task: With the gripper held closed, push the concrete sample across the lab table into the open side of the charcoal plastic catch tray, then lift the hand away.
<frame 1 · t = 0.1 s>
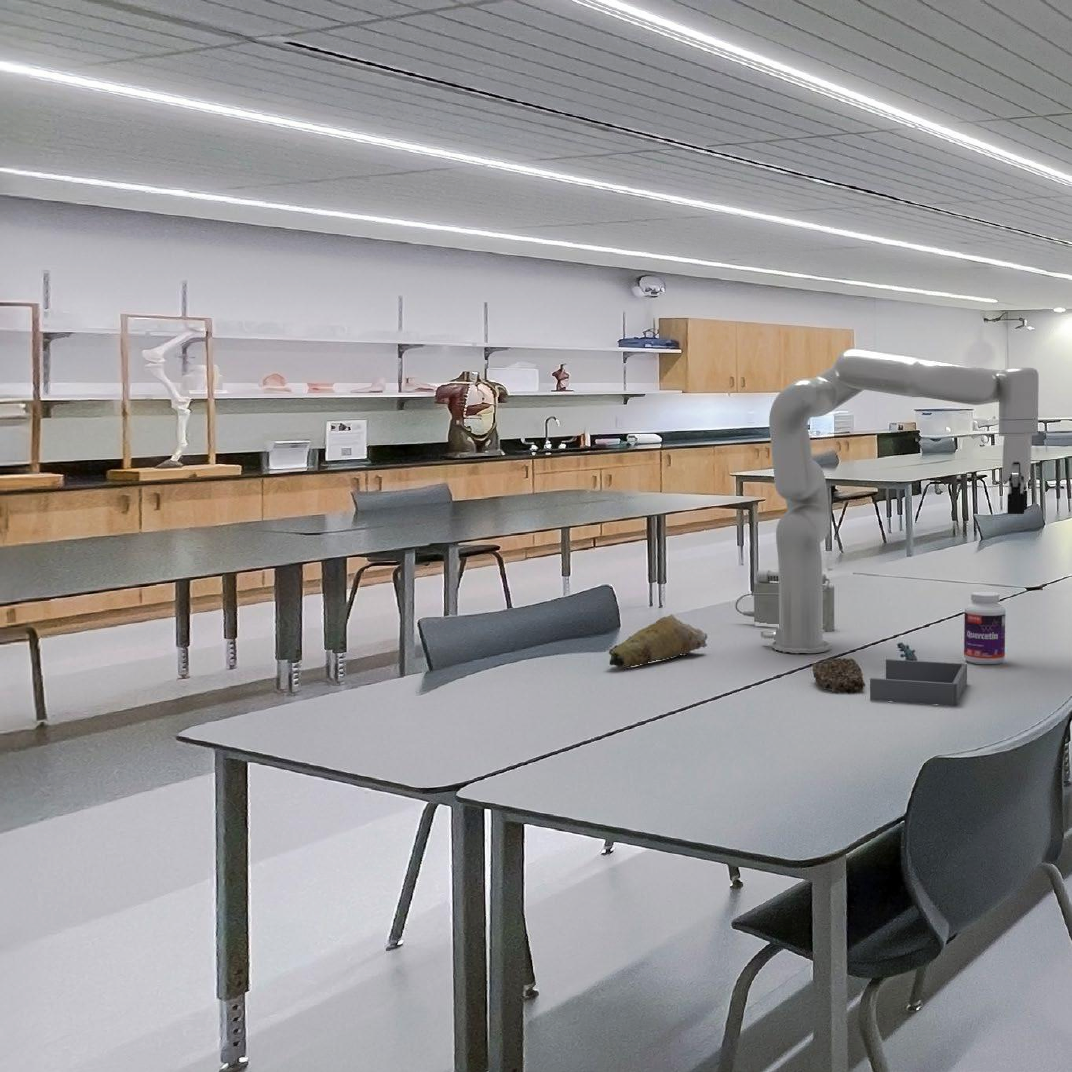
hand: (1017, 511, 258), 31 cm above the table, tool pointing down, fingers open, 9 cm apart
pill bottle: (984, 662, 261), on the table
catch tray: (918, 691, 236), on the table
geiger counter: (783, 628, 307), on the table
concrete sample: (838, 688, 242), on the table
mineral: (653, 662, 271), on the table
sculpture: (907, 671, 257), on the table
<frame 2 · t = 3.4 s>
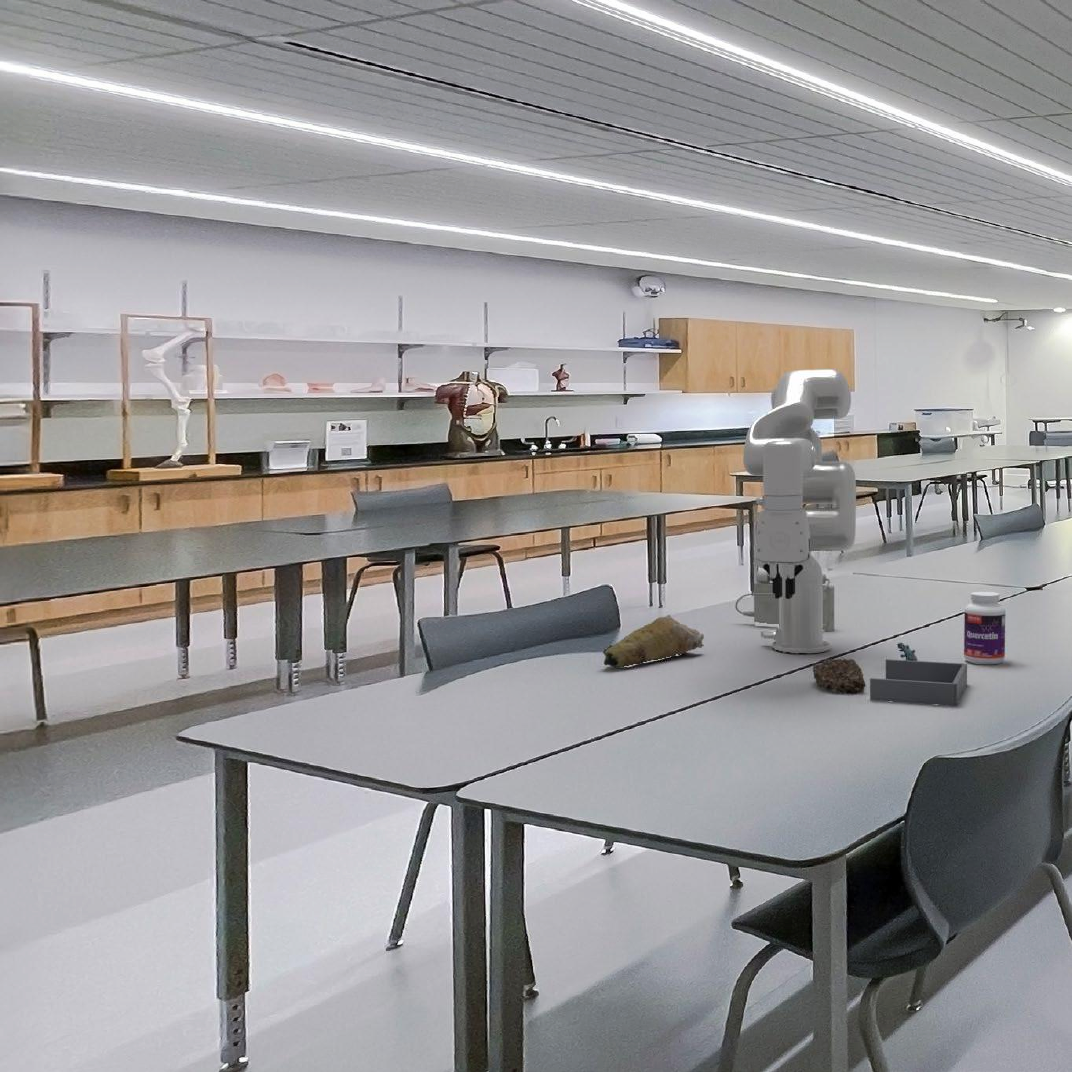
hand: (783, 597, 245), 17 cm above the table, tool pointing down, fingers closed
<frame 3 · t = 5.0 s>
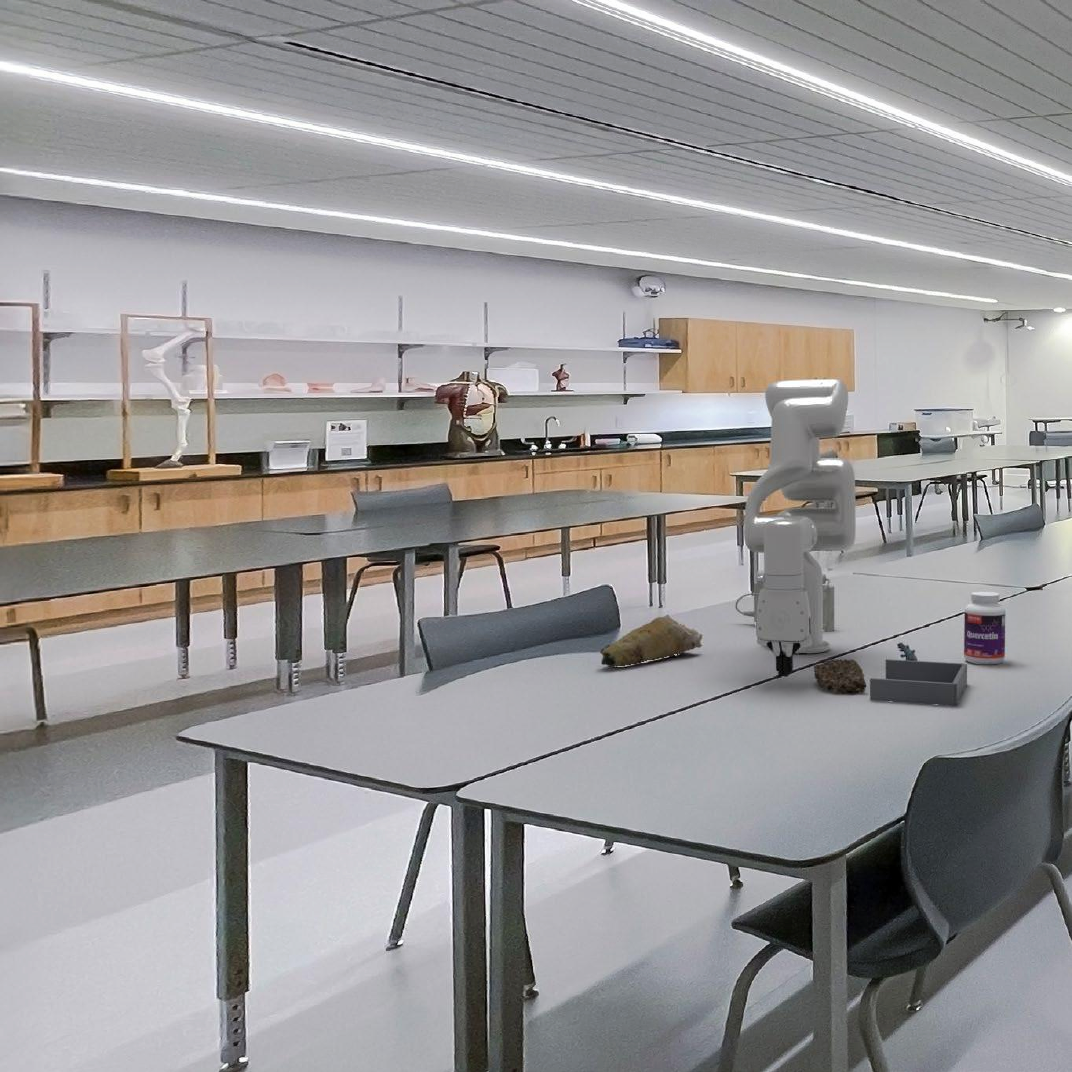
hand: (784, 675, 246), 2 cm above the table, tool pointing down, fingers closed
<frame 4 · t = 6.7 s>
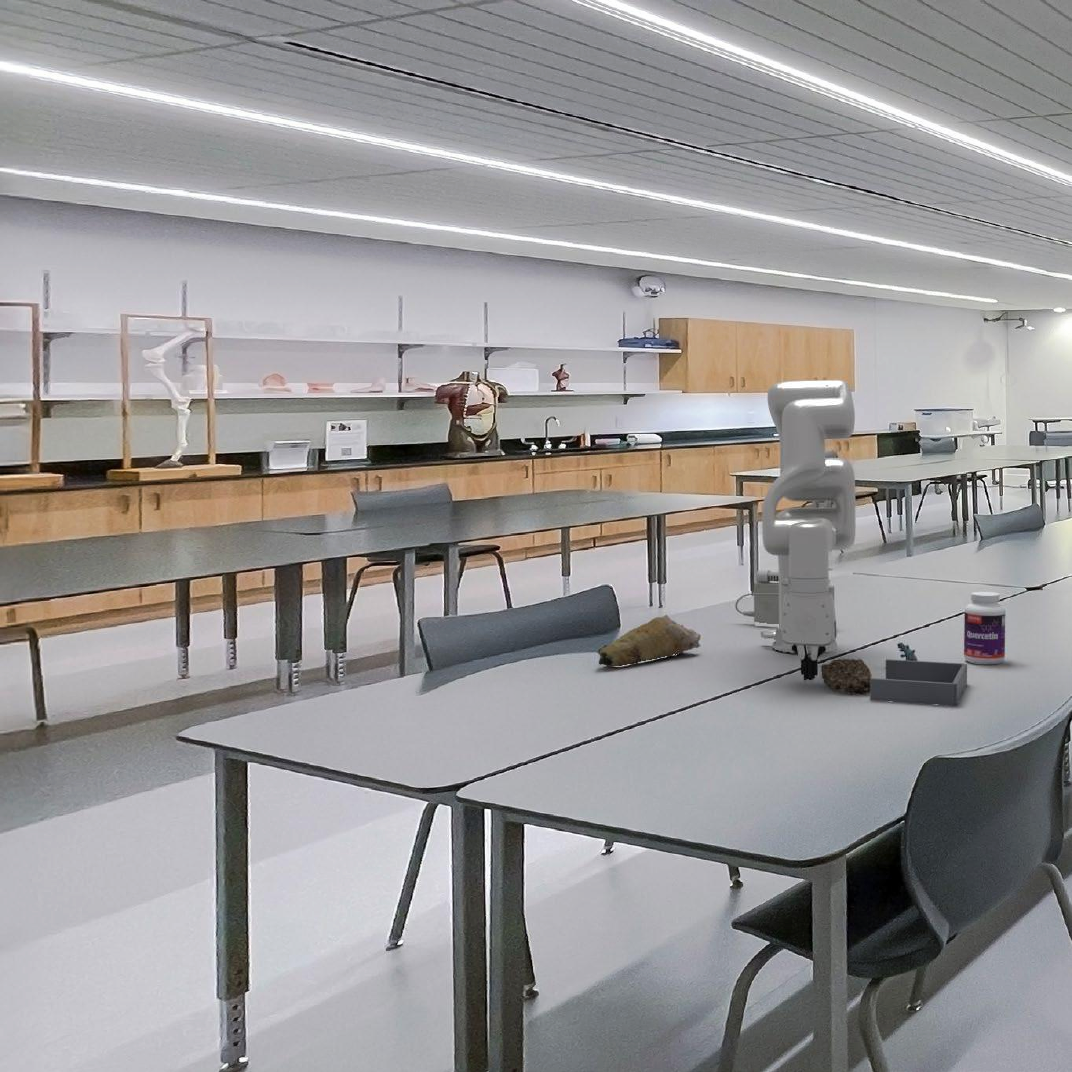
hand: (809, 678, 244), 1 cm above the table, tool pointing down, fingers closed
concrete sample: (847, 689, 240), on the table, touching gripper
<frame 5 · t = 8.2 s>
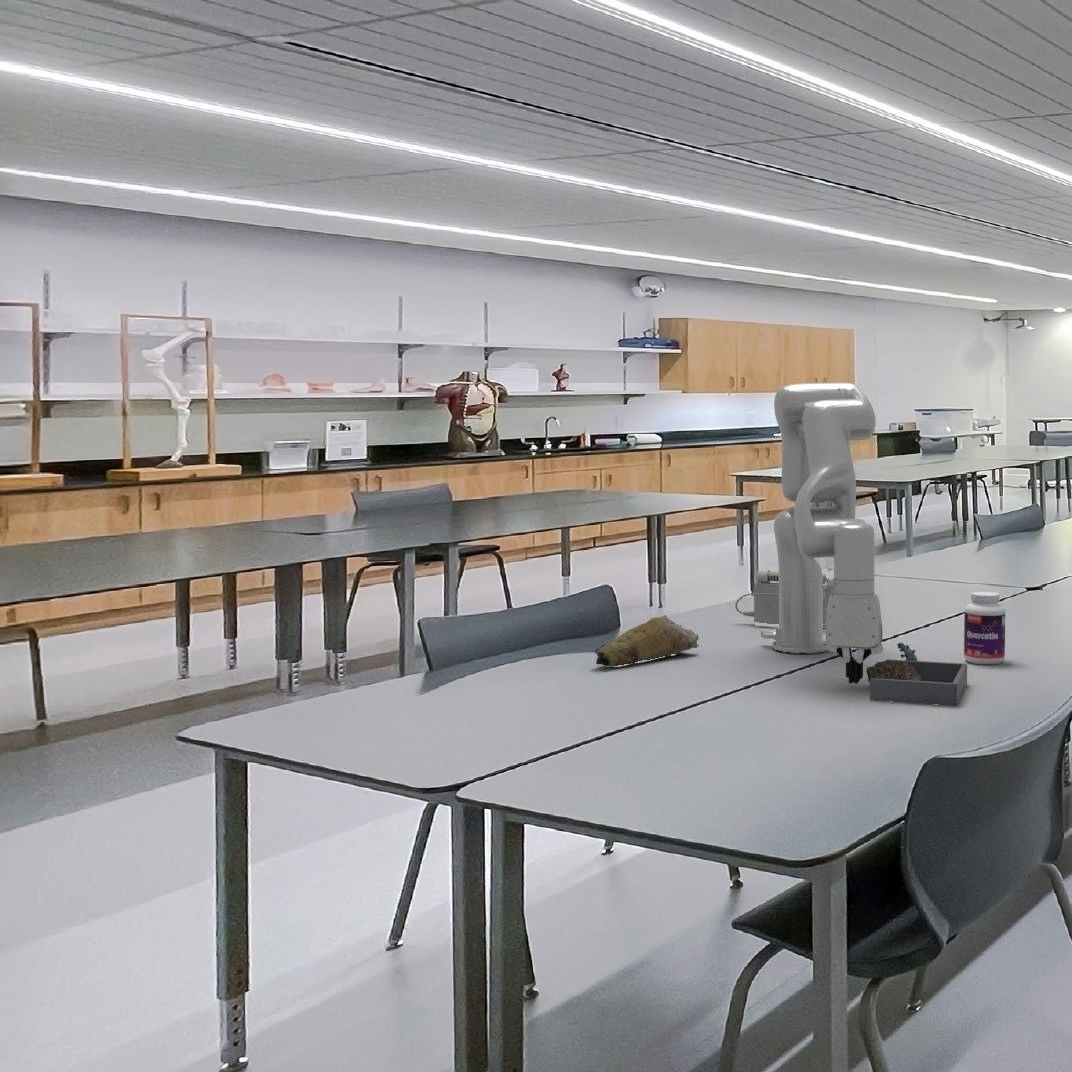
hand: (854, 681, 241), 1 cm above the table, tool pointing down, fingers closed
concrete sample: (895, 692, 237), on the table, touching gripper
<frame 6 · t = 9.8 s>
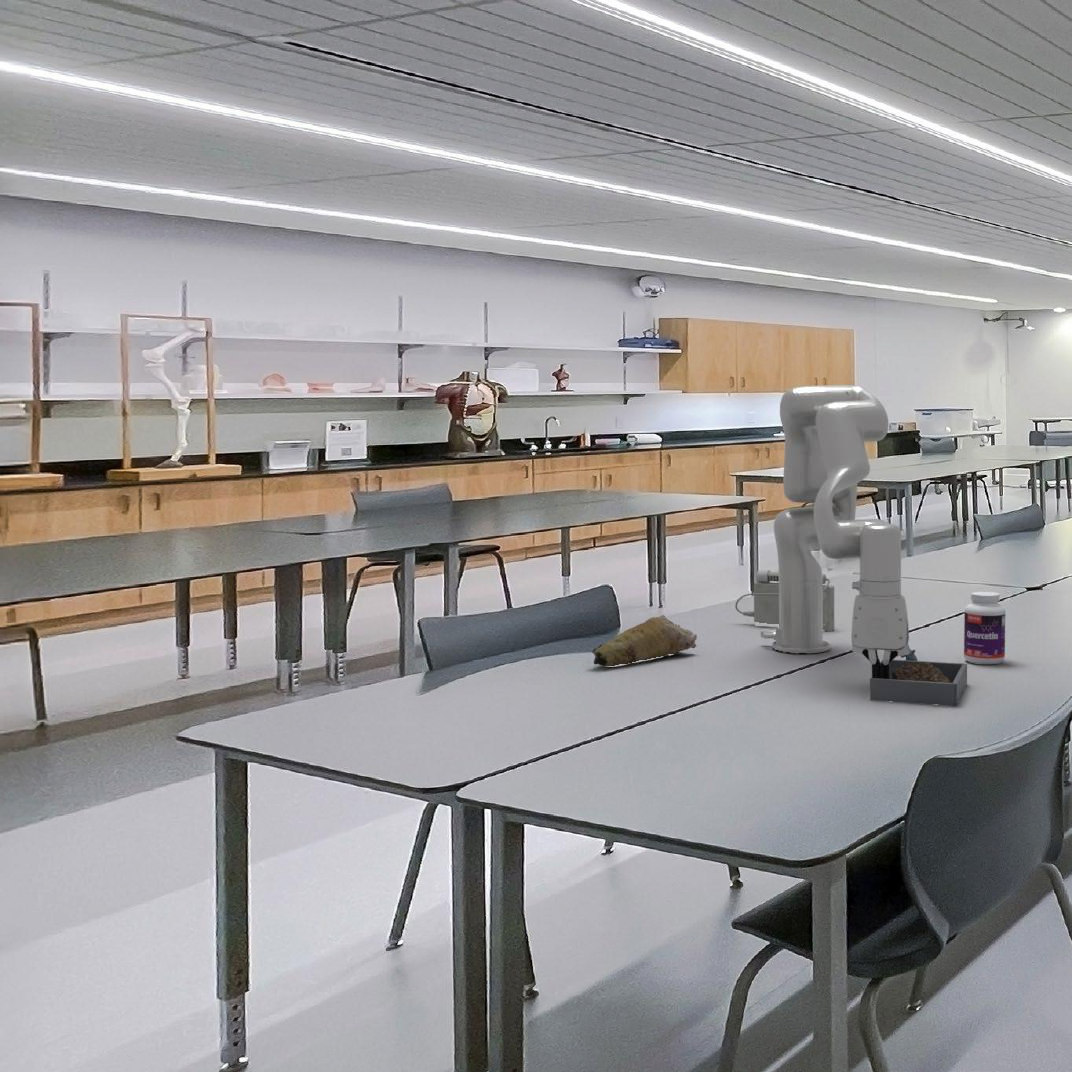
hand: (880, 683, 239), 1 cm above the table, tool pointing down, fingers closed
concrete sample: (922, 694, 236), on the table
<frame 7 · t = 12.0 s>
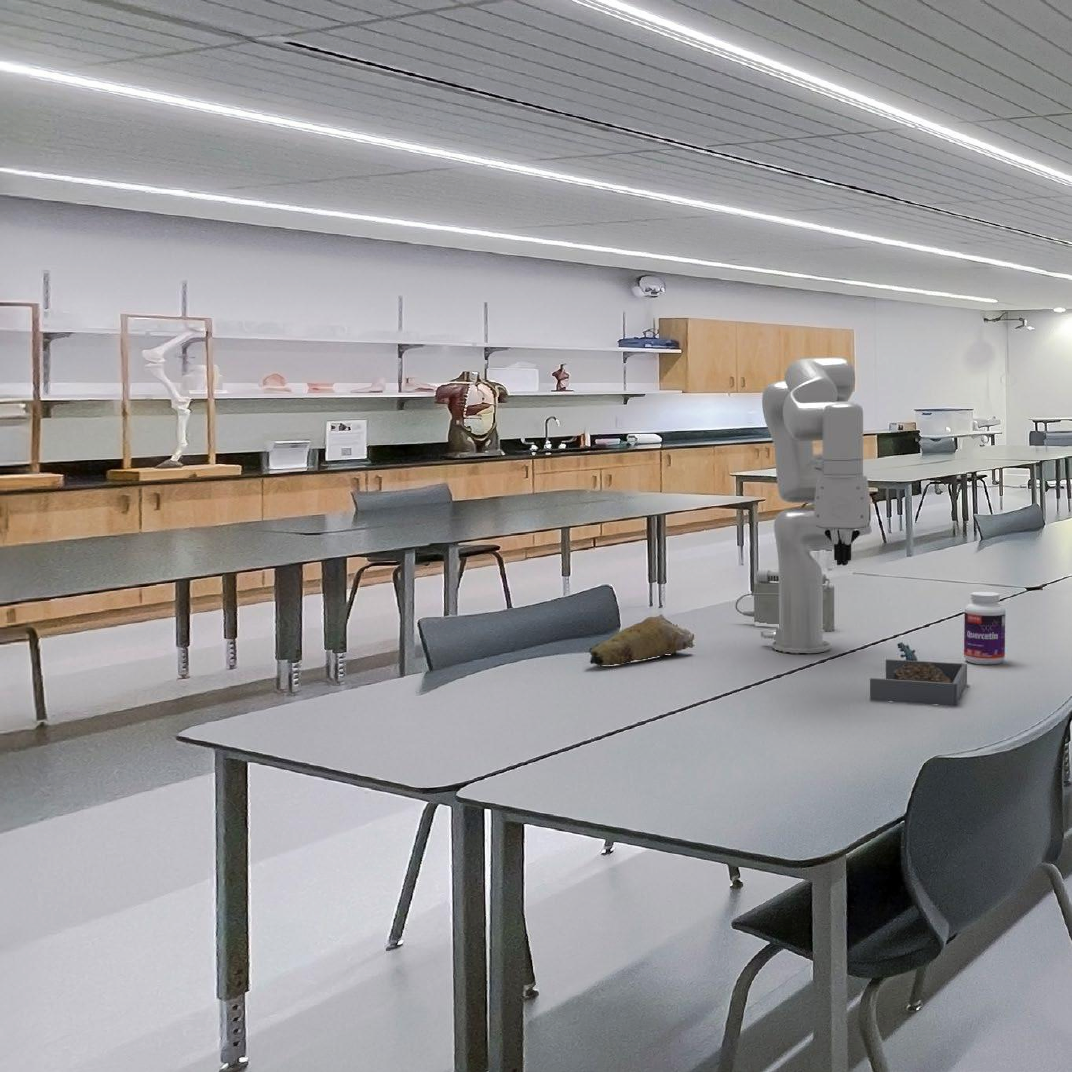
hand: (842, 564, 240), 24 cm above the table, tool pointing down, fingers closed
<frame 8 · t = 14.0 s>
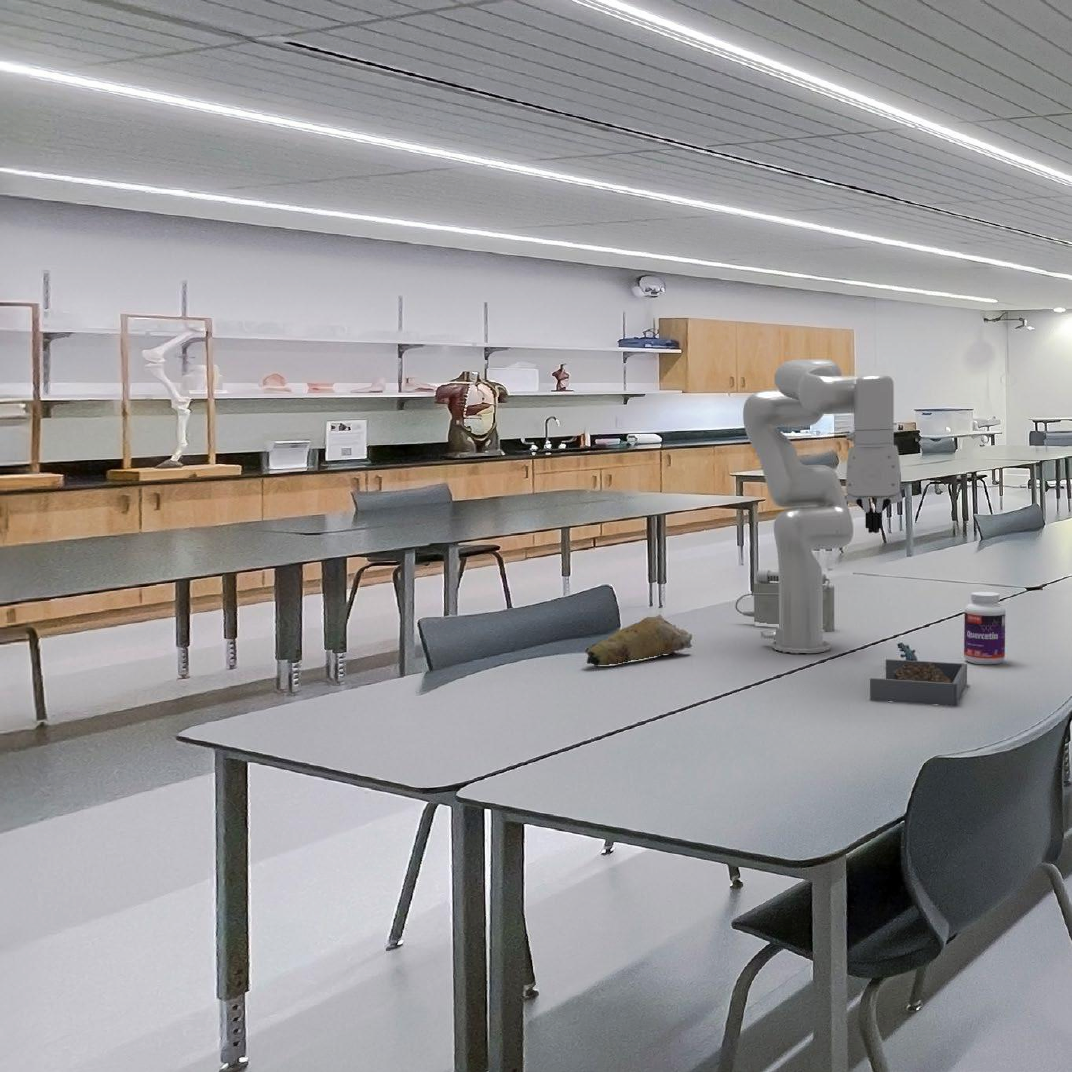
hand: (873, 532, 247), 29 cm above the table, tool pointing down, fingers closed
at the end: concrete sample inside the target area (0.7 cm from its centre), on the table; concrete sample moved 16.0 cm from its start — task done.
